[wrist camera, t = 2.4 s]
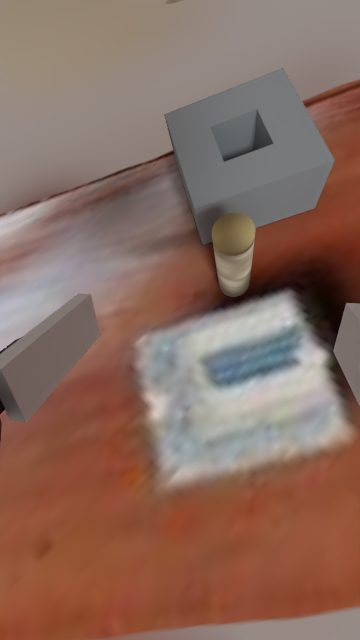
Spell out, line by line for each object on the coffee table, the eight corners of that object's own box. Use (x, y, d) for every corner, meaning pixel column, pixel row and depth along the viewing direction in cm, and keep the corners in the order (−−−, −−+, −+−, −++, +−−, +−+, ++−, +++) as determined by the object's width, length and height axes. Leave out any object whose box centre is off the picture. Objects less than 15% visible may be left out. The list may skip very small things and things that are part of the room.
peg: (243, 265, 37) (247, 207, 26) (253, 291, 36) (261, 242, 24) (215, 274, 37) (206, 221, 26) (223, 300, 36) (218, 256, 25)
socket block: (274, 126, 42) (282, 67, 34) (314, 208, 37) (334, 160, 29) (176, 163, 44) (164, 114, 36) (202, 245, 39) (194, 208, 31)
